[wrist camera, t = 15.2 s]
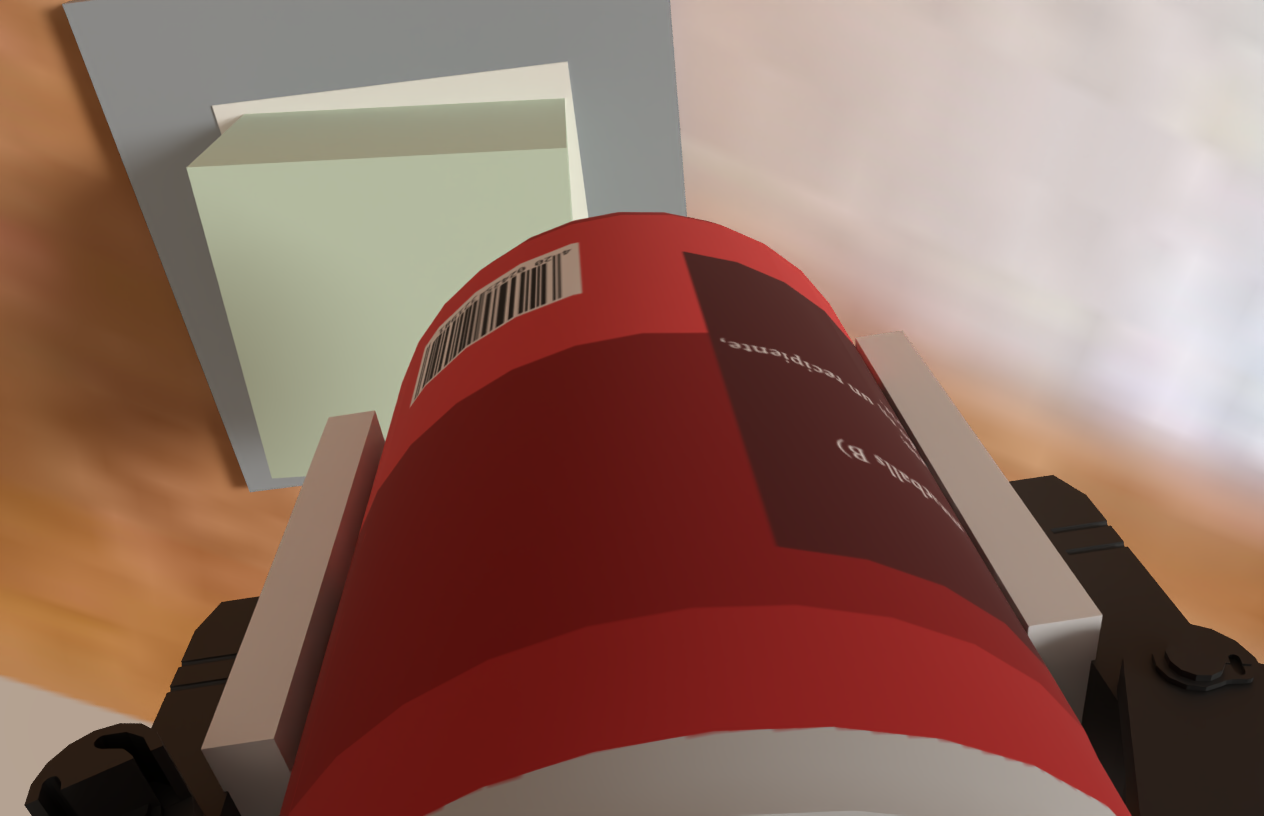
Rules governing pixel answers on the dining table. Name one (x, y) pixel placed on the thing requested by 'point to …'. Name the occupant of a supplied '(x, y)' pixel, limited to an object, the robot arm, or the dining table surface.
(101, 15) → the plate
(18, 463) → the dining table surface
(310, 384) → the block
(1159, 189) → the dining table surface
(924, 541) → the canned food
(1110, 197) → the dining table surface
